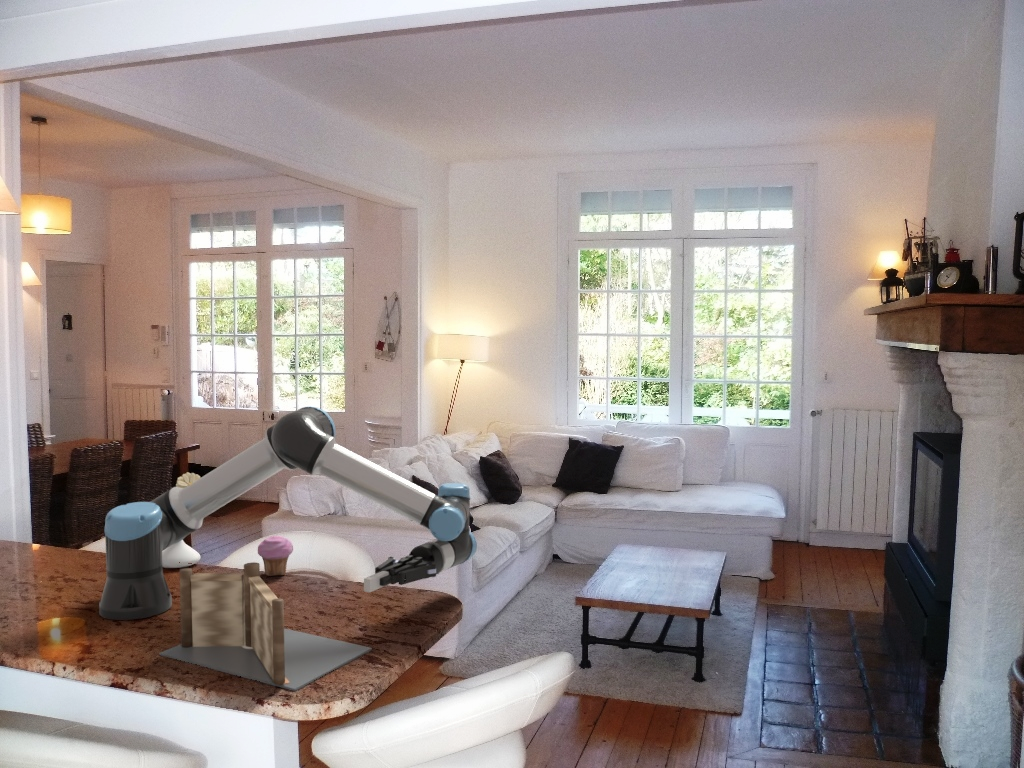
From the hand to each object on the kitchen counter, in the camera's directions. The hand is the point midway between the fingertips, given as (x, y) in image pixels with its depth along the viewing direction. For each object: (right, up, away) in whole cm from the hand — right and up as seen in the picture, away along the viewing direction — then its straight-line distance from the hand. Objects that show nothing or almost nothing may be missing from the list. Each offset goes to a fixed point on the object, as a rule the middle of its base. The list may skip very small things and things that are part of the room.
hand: (366, 585), depth 178 cm
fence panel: (-16, -11, -15) cm, 25 cm away
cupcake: (-31, -8, +47) cm, 57 cm away
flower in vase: (-59, -7, +55) cm, 81 cm away
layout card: (-19, -12, -7) cm, 23 cm away
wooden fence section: (-28, -11, -4) cm, 31 cm away
